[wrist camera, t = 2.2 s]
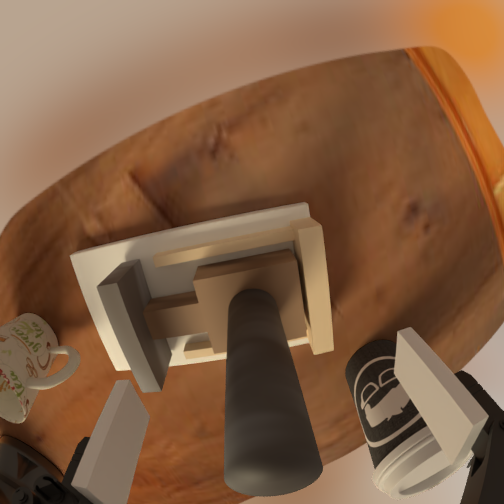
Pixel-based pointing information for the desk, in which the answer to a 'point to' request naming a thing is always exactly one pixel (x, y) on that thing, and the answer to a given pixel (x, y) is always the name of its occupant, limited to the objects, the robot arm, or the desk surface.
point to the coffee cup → (394, 426)
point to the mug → (29, 364)
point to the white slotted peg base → (207, 252)
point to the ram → (231, 358)
